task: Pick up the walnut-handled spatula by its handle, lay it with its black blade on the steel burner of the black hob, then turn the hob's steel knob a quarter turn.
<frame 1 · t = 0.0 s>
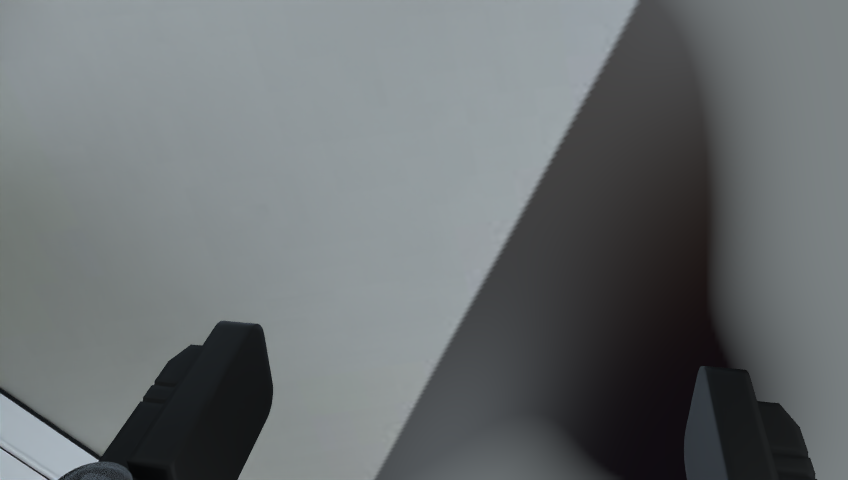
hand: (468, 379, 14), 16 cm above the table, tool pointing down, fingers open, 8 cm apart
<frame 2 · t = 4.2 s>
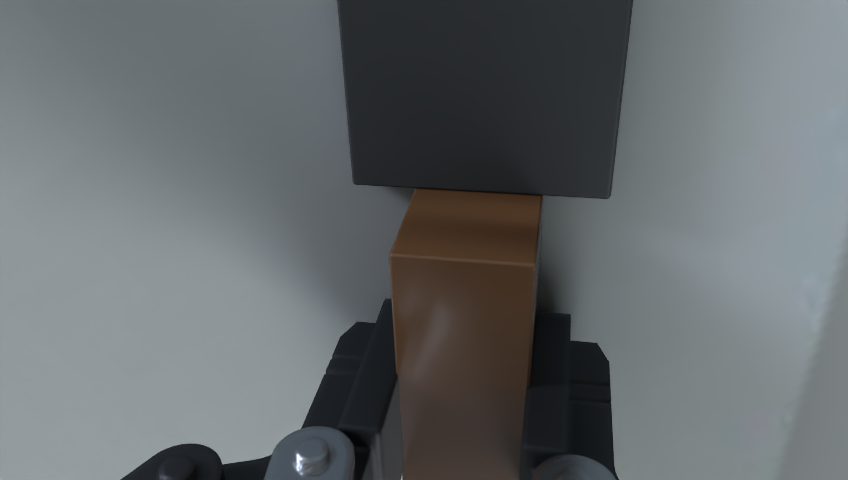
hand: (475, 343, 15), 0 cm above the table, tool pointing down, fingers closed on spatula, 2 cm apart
spatula: (480, 228, 14), on the table, touching gripper
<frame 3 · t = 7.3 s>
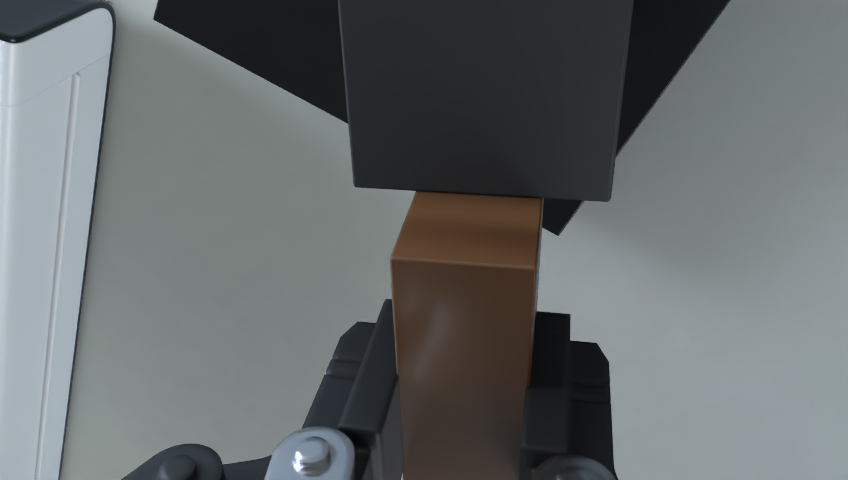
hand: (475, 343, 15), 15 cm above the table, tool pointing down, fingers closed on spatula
spatula: (480, 231, 14), point 14 cm above the table, touching gripper
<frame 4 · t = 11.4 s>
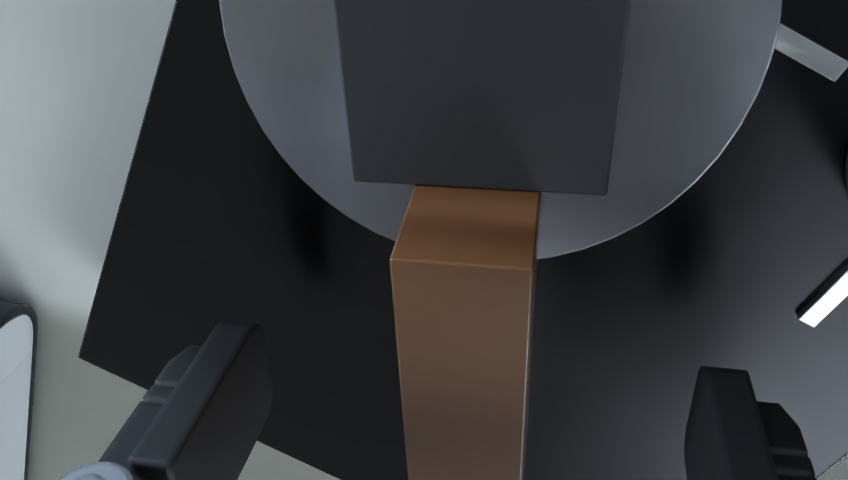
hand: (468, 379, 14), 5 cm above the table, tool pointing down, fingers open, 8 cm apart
hob: (554, 177, 17), on the table
burner: (485, 22, 13), resting on hob
spatula: (479, 221, 14), point 3 cm above the table, touching burner, hob
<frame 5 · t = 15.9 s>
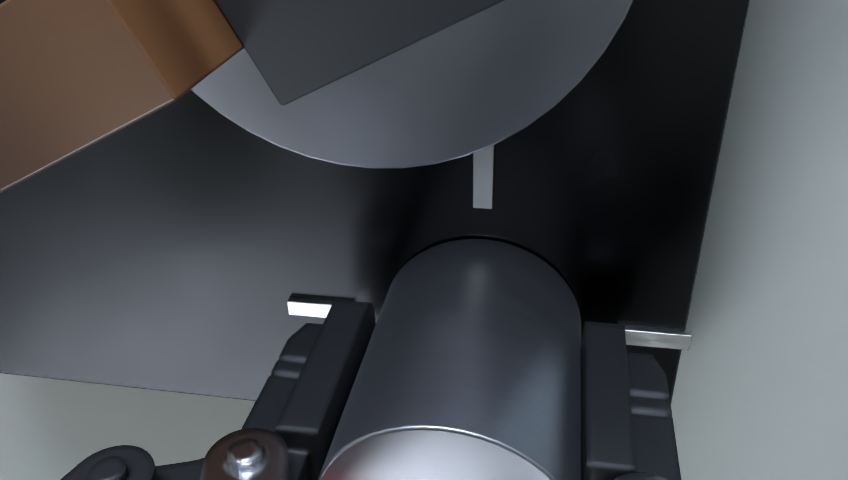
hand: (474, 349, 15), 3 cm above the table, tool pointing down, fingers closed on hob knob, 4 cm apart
hob: (259, 36, 16), on the table
hob knob: (464, 413, 13), point 5 cm above the table, hinge at -0.2°, touching gripper
spatula: (174, 4, 13), point 3 cm above the table, touching burner, hob
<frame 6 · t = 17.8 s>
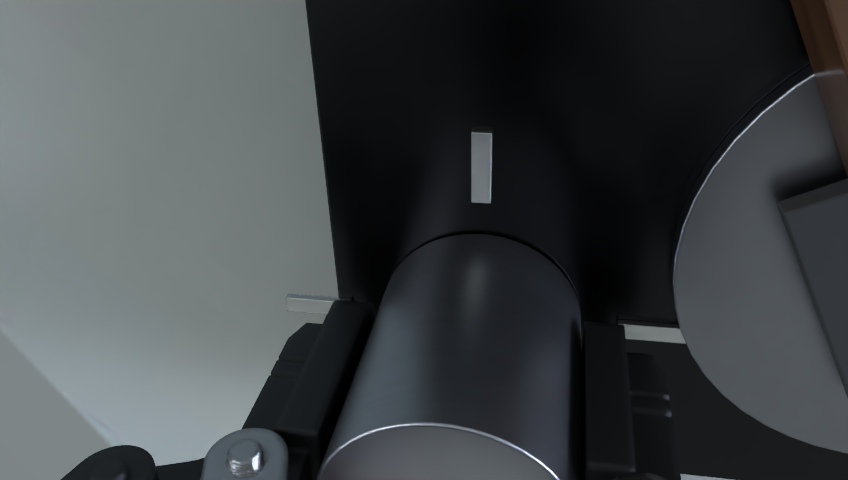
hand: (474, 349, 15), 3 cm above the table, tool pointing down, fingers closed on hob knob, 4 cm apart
hob: (765, 41, 14), on the table
hob knob: (464, 409, 13), point 5 cm above the table, hinge at 93.2°, touching gripper
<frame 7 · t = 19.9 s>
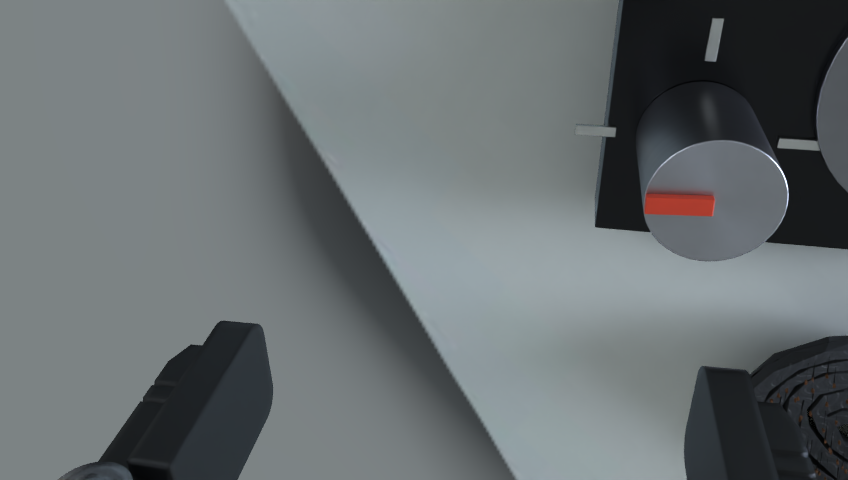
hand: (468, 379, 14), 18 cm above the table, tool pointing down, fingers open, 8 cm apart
hob knob: (704, 169, 24), point 5 cm above the table, hinge at 93.1°
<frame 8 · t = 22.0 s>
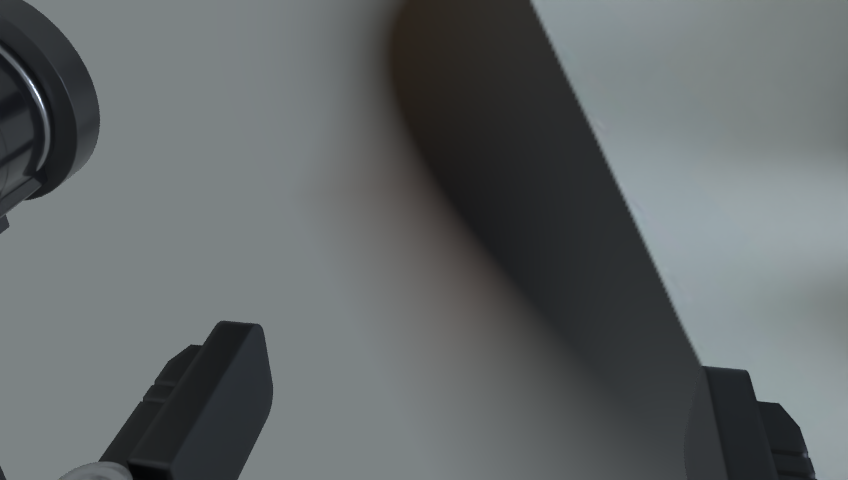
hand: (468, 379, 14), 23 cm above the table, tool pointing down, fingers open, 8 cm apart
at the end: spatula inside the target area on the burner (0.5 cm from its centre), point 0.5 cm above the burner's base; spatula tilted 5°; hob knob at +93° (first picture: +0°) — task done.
